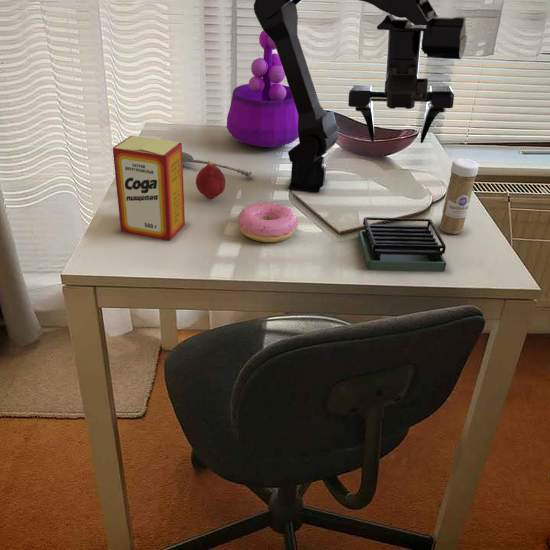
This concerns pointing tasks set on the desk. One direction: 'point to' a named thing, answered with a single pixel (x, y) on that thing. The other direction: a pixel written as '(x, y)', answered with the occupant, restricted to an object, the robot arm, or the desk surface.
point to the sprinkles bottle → (458, 195)
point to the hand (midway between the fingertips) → (396, 141)
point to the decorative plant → (264, 104)
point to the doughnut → (267, 222)
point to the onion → (210, 181)
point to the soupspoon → (189, 158)
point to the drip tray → (398, 259)
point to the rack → (403, 239)
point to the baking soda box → (150, 186)
